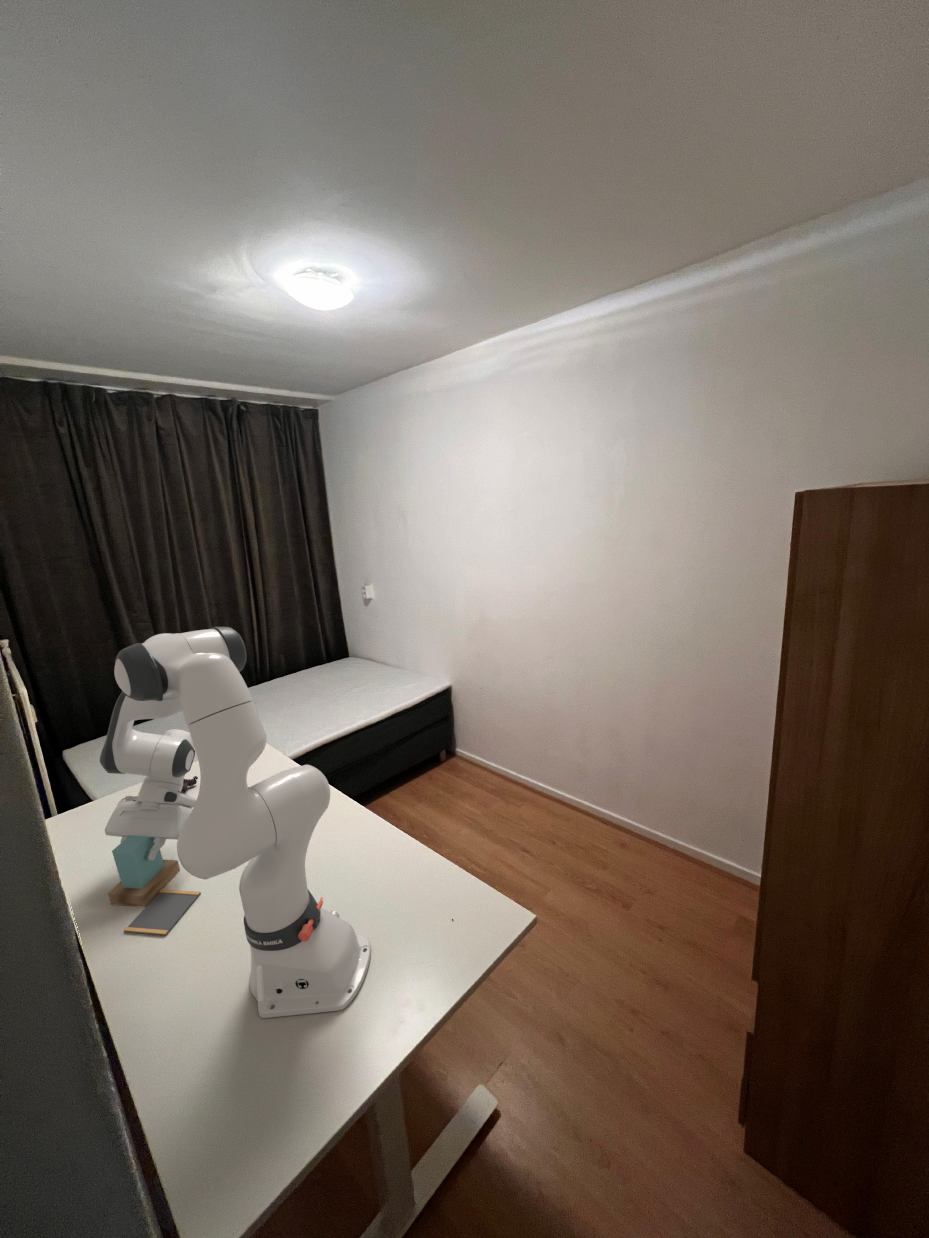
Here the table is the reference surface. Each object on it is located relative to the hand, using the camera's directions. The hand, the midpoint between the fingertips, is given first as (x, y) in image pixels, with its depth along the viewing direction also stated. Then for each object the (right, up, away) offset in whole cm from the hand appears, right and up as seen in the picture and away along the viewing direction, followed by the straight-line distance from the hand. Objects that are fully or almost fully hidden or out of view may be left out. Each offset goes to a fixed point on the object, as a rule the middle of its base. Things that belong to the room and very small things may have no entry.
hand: (136, 859), depth 112 cm
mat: (+10, -9, -5) cm, 14 cm away
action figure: (-17, 0, +39) cm, 43 cm away
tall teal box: (0, -5, +2) cm, 5 cm away
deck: (+1, -8, +3) cm, 8 cm away
